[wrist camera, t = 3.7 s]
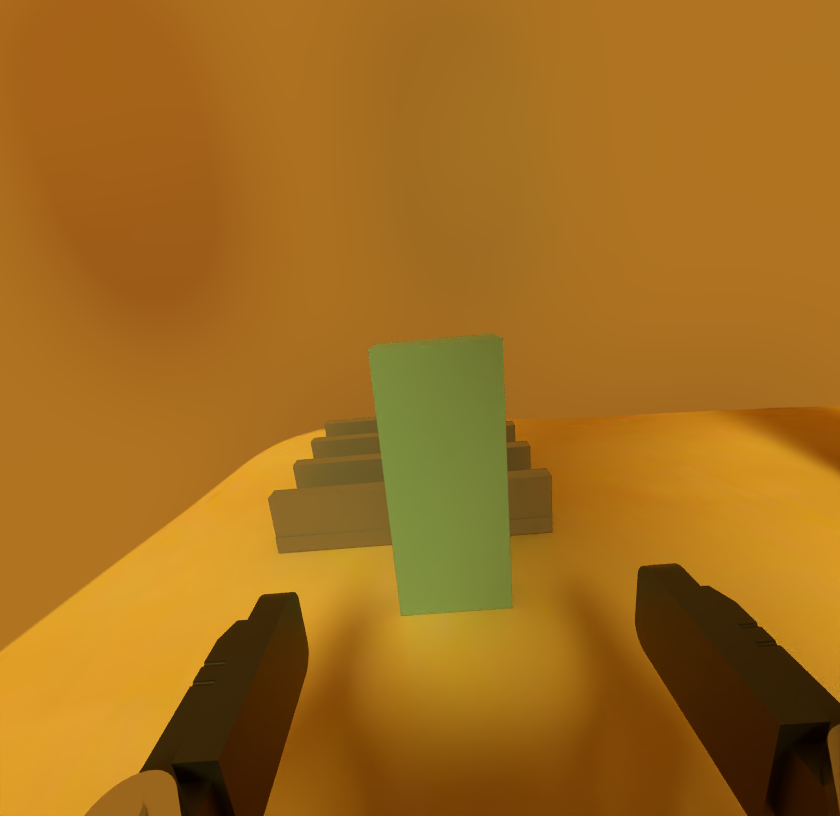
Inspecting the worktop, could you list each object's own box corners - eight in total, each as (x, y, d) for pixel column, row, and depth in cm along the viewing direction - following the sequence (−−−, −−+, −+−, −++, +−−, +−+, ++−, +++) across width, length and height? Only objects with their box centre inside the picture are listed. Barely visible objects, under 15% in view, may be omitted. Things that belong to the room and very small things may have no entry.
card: (503, 577, 20) (493, 333, 17) (512, 607, 18) (502, 338, 15) (403, 585, 20) (374, 344, 17) (401, 615, 18) (367, 350, 15)
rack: (502, 441, 38) (500, 405, 37) (552, 531, 23) (552, 476, 22) (332, 455, 38) (327, 420, 37) (278, 553, 24) (267, 499, 23)
